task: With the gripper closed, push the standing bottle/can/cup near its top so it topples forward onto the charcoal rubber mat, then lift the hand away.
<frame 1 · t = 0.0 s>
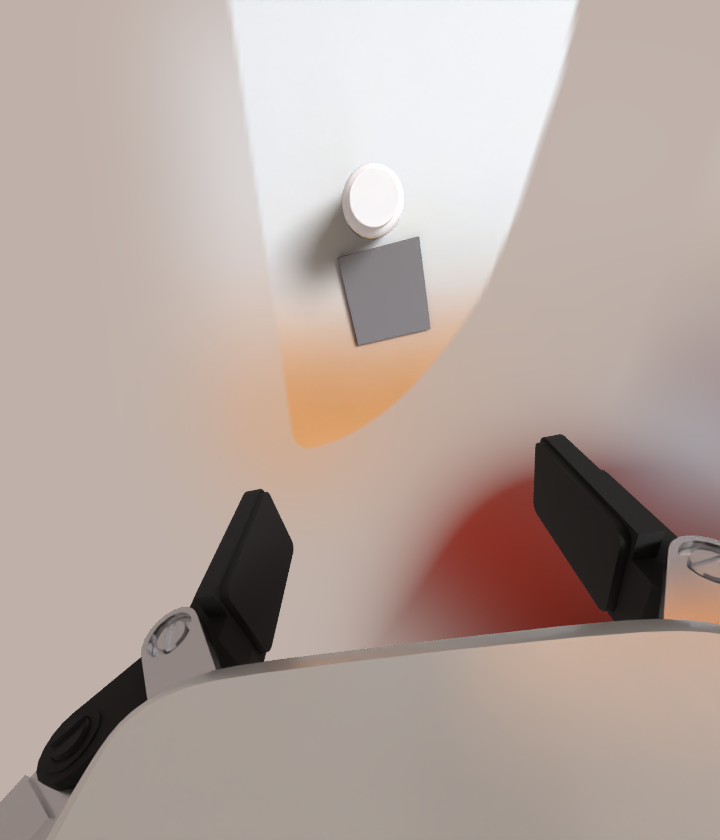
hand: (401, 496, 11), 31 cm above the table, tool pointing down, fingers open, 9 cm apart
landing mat: (386, 294, 37), on the table
supplement bottle: (370, 210, 34), on the table
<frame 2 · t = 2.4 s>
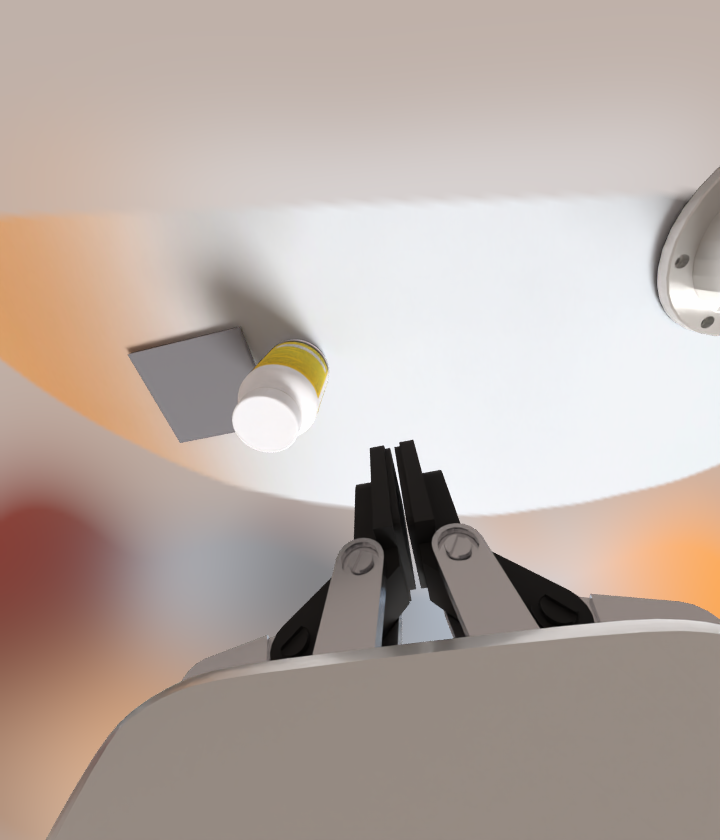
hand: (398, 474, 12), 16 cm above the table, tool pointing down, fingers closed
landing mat: (208, 388, 29), on the table
supplement bottle: (298, 368, 28), on the table
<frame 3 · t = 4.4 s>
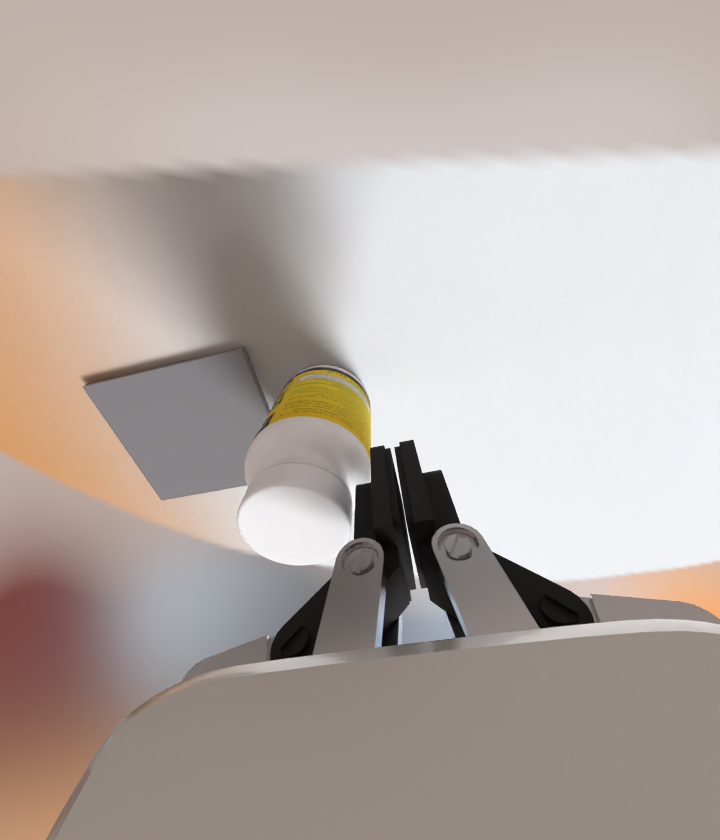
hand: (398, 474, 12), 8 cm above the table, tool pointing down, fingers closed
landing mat: (199, 431, 21), on the table
supplement bottle: (326, 403, 20), on the table, touching gripper
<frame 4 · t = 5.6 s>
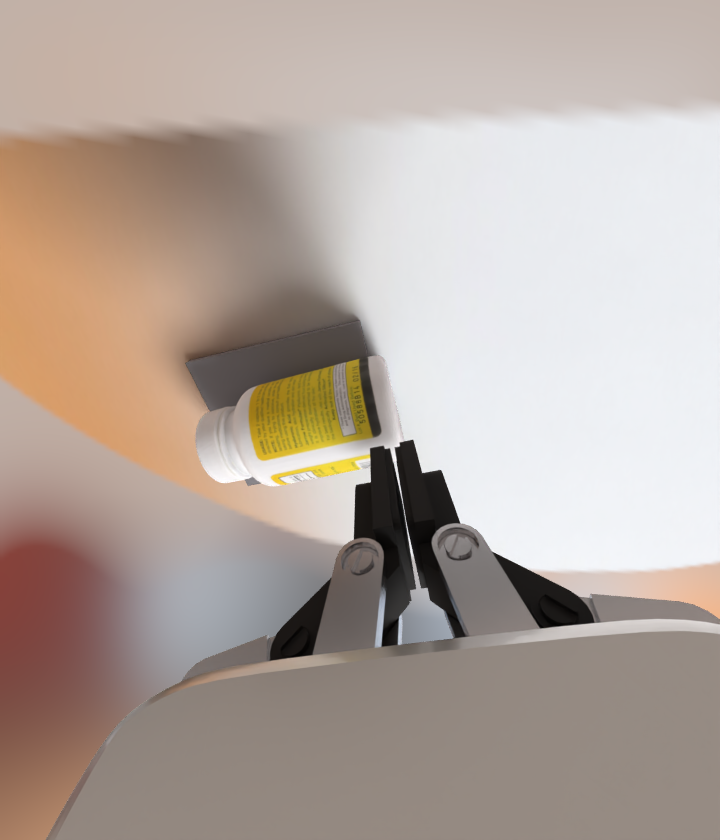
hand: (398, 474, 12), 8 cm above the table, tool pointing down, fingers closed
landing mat: (297, 411, 20), on the table
supplement bottle: (400, 405, 16), point 3 cm above the table, touching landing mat
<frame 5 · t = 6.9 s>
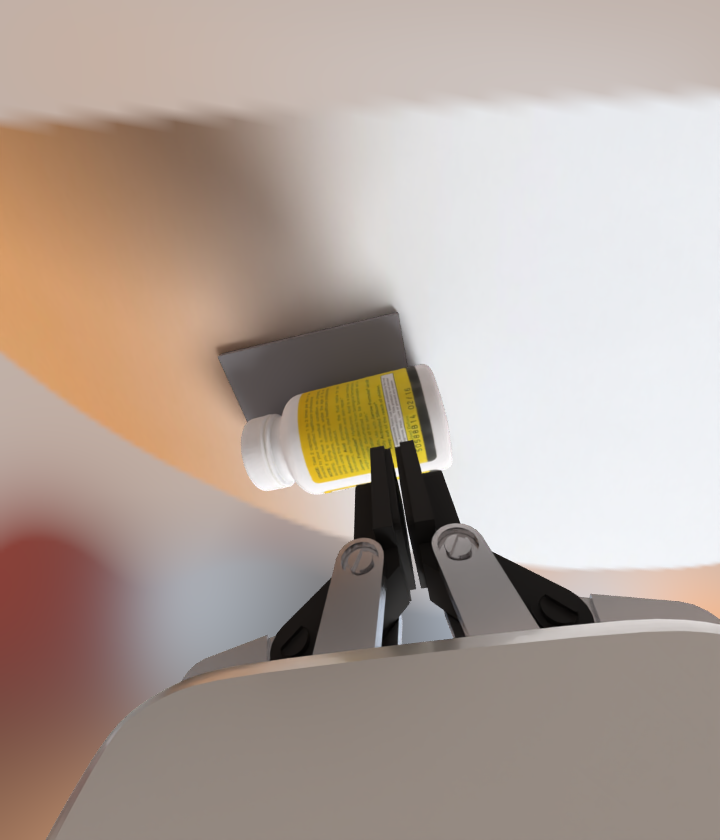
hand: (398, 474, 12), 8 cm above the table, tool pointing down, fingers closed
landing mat: (328, 406, 19), on the table
supplement bottle: (444, 413, 16), point 3 cm above the table, touching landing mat
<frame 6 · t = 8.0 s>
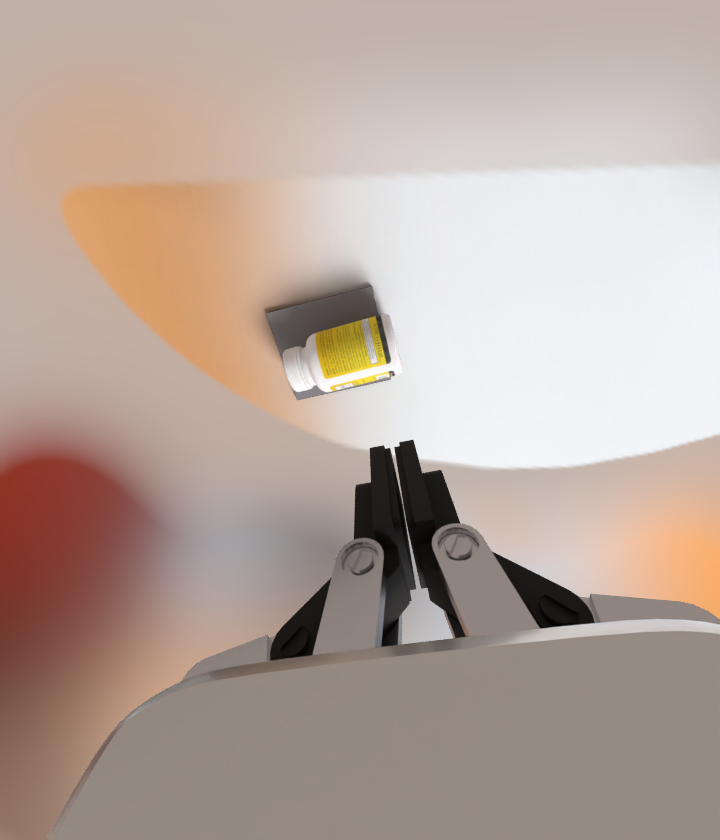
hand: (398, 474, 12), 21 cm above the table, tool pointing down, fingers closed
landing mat: (331, 346, 31), on the table
supplement bottle: (398, 343, 28), point 3 cm above the table, touching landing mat
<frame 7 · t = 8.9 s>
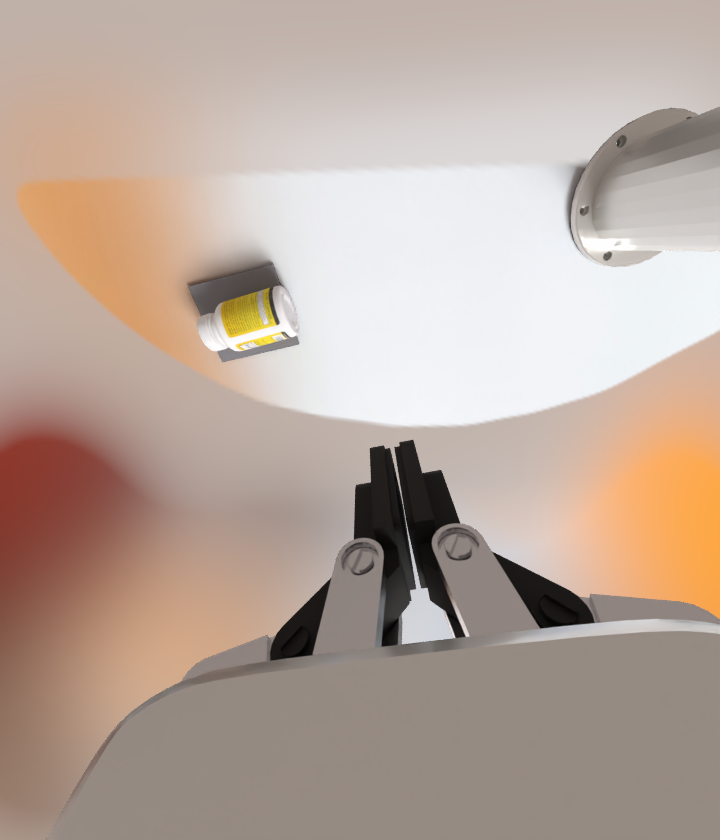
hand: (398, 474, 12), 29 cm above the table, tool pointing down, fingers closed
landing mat: (246, 315, 38), on the table
supplement bottle: (292, 310, 34), point 3 cm above the table, touching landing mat
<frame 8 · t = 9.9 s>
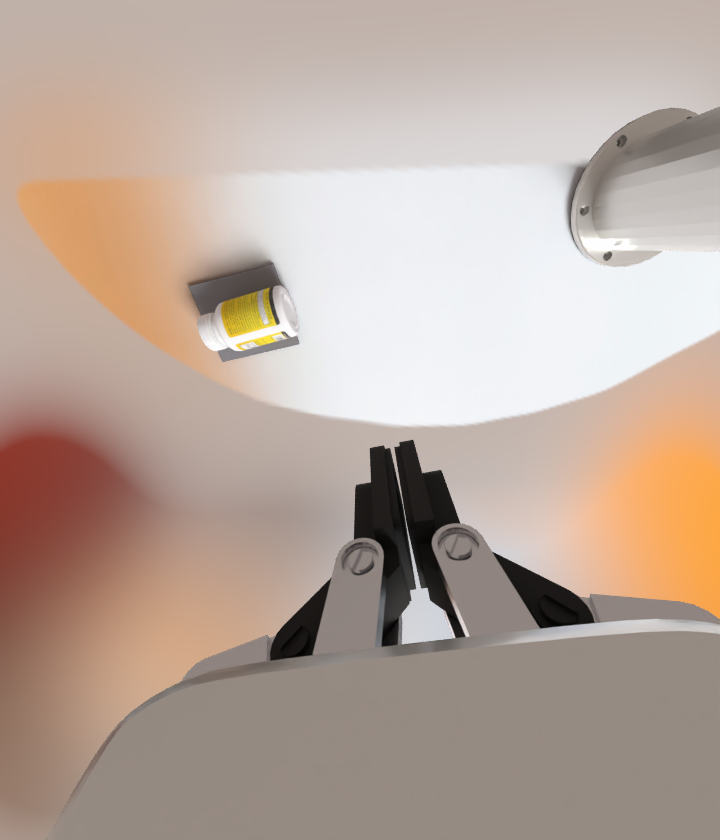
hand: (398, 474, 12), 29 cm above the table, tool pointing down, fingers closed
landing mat: (247, 315, 38), on the table
supplement bottle: (292, 309, 34), point 3 cm above the table, touching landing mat
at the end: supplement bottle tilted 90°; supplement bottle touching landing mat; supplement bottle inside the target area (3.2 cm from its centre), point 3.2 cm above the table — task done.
